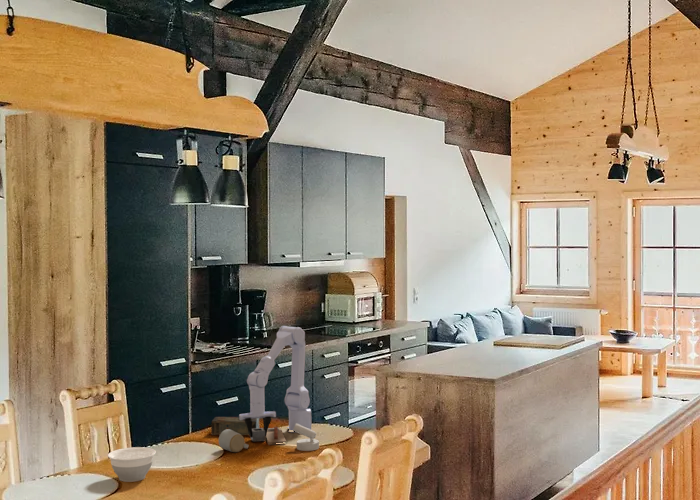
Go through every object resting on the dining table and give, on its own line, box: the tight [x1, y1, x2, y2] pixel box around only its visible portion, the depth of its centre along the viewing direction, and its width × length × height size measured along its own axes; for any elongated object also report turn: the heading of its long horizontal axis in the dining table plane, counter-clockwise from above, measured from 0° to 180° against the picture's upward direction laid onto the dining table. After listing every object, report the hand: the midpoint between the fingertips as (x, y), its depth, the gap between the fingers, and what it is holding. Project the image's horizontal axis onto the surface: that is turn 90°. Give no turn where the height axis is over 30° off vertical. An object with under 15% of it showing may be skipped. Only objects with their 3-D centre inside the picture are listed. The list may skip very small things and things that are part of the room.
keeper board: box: [265, 426, 287, 446], centre depth 340 cm, size 7×22×6 cm, turn 10°
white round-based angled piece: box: [293, 423, 320, 452], centre depth 324 cm, size 9×10×10 cm
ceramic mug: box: [218, 429, 249, 453], centre depth 322 cm, size 11×8×8 cm
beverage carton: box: [210, 416, 260, 436], centre depth 349 cm, size 8×19×7 cm, turn 88°
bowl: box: [107, 446, 157, 483], centre depth 286 cm, size 16×16×9 cm
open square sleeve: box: [250, 427, 266, 443], centre depth 336 cm, size 5×5×4 cm
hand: (257, 436), depth 336 cm, fingers closed on open square sleeve, 5 cm apart
